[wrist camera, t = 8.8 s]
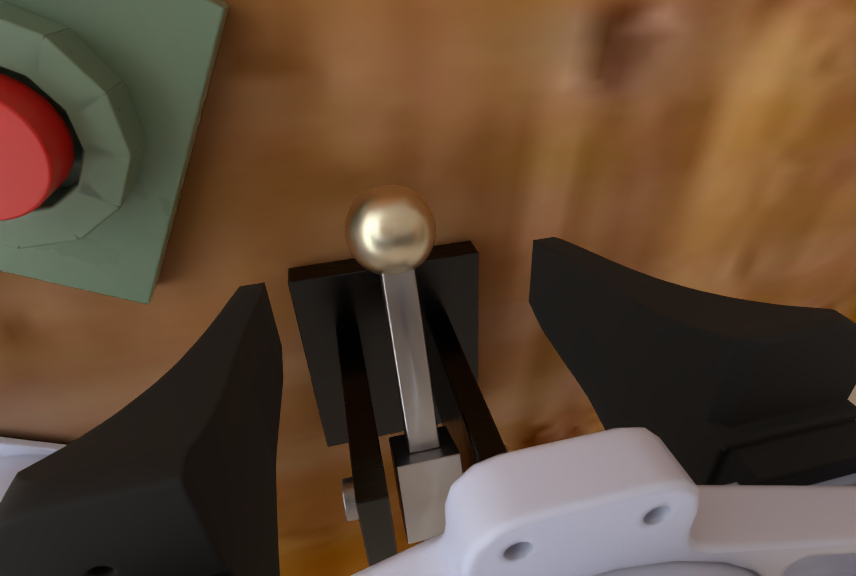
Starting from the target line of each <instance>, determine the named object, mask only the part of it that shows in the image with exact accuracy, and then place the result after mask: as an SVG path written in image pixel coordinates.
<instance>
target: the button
mask: <svg viewBox="0 0 856 576" xmlns="http://www.w3.org/2000/svg"><path fill="white" fill-rule="evenodd" d="M73 163H74V145H73V141H72V137H71V134H70V132H69V129H68V127H67V125H66V123H65V122H64V120H63V118H62V117H61V116H60V114H59V113H58V112H57V110H56V109H55V108H54V107H53V106H52V105H51V104H50V103H49V102H48V101H47V100H46V99H45V98H44V97H43V96H42V95H40V94H39V93H38V92H37V91H35V90H34V89H32V88H31V87H29V86H28V85H26V84H24V83H22V82H20V81H18V80H16V79H14V78H12V77H9V76H7V75H5V74H1V73H0V221H4V220H11V219H16V218H19V217H22V216H24V215H26V214H28V213H30V212H32V211H34V210H35V209H36V208H38V207H39V206H40V205H41V204H42V203H43V202H44V201H45V200H46V199H47V198H48V197H49V196H50V195H51V194H52V193H53V192H54V191H55V190H56V189H57V188H58V187H60V186H61V184H62V183H63V182H64V181H65V180H66V179H67V177H68V176H69V174H70V172H71V170H72V167H73Z"/></svg>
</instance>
